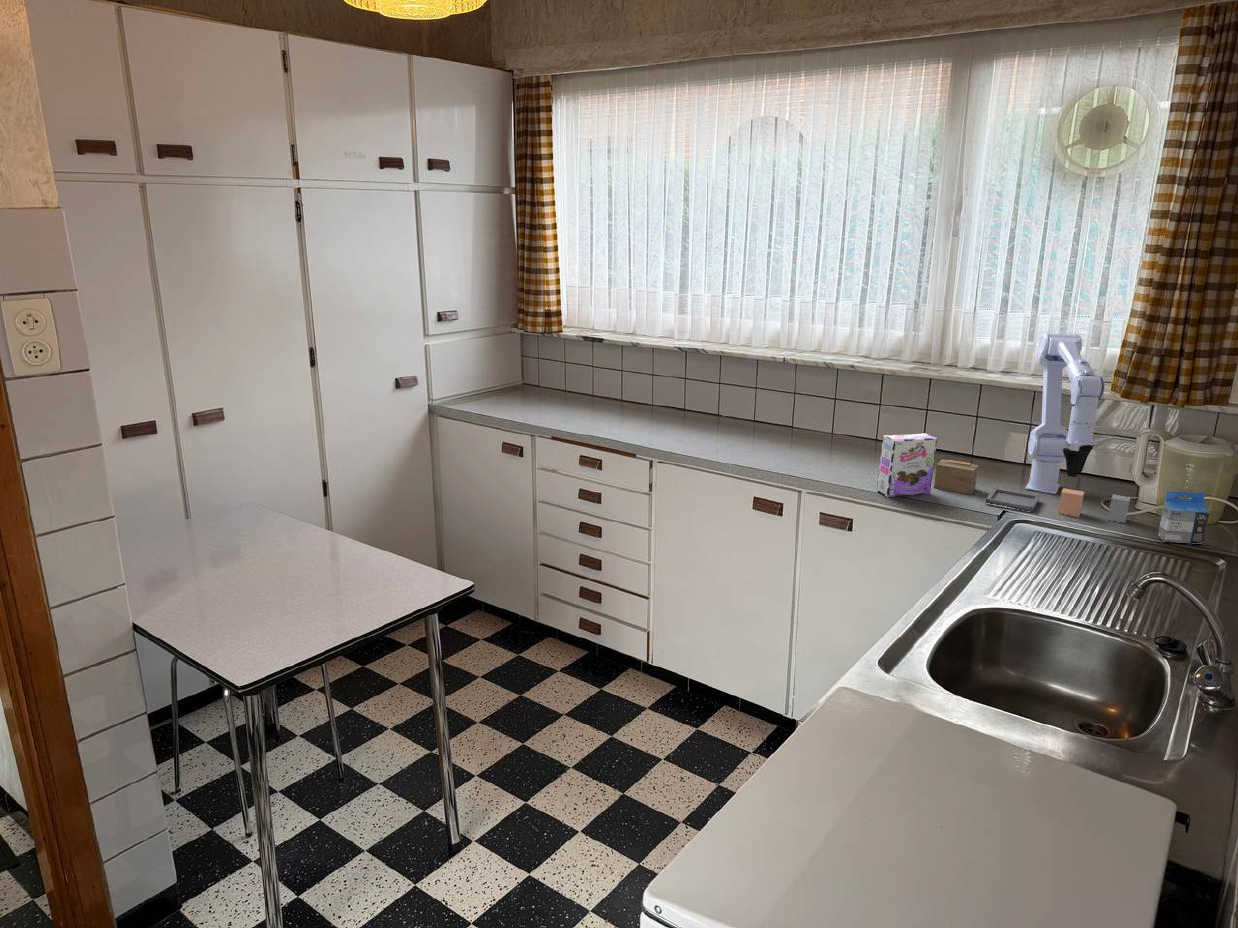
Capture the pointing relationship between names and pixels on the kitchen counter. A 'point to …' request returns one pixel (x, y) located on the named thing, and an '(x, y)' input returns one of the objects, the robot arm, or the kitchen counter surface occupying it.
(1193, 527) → the label tape box
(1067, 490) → the terracotta block
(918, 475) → the candy box
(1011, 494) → the charcoal tray
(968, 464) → the box
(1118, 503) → the slate grey block
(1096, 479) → the kitchen counter surface
